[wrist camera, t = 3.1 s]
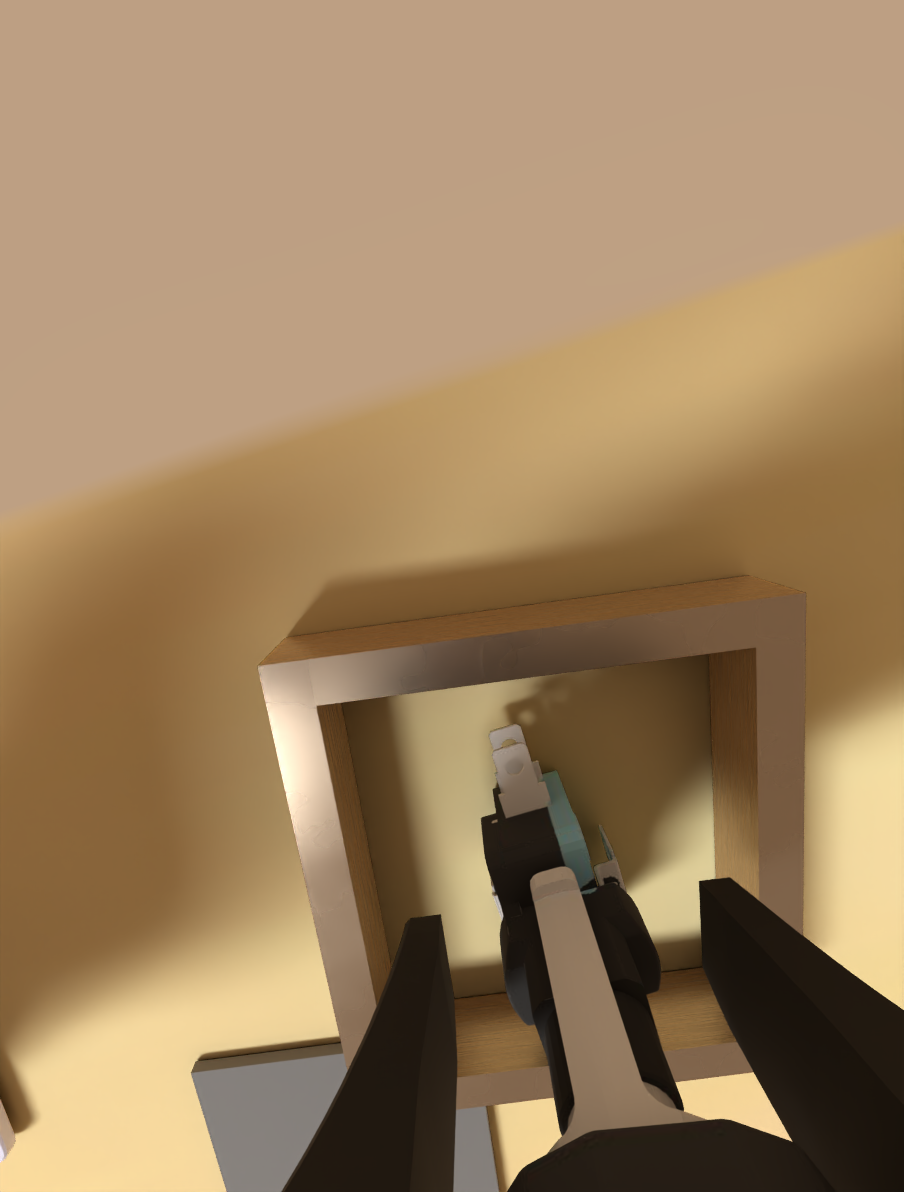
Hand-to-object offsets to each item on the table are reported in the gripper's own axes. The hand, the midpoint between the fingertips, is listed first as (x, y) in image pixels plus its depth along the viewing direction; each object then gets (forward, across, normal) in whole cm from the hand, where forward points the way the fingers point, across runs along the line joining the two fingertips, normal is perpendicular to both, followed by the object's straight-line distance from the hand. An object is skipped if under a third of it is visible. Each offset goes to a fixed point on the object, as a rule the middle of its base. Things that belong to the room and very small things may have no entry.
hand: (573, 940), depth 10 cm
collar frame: (+3, 0, 0) cm, 3 cm away
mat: (+3, +6, +10) cm, 12 cm away
